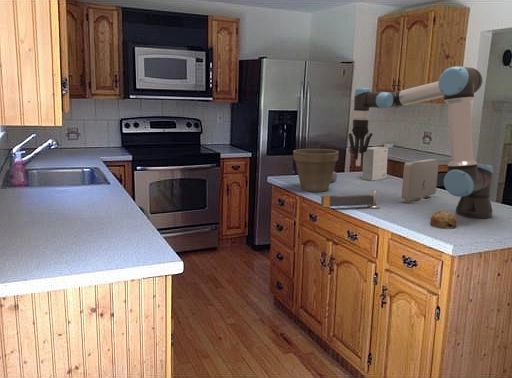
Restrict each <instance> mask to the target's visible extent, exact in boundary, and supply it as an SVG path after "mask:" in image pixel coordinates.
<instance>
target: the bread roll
mask: <svg viewBox="0 0 512 378" xmlns="http://www.w3.org/2000/svg"><path fill="white" fill-rule="evenodd" d="M429 220H430V224H432V225H431V226H432V227H436V228H438V229H447V230H448V229H453V228H456V227H457V224H458V222H457V219H456V216H455V215H454V214H453V213H452V212H449V211H446V210H439V211H436V212H435V213H433V214H432V216H430V217H429Z"/></svg>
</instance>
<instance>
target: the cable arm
mask: <svg viewBox="0 0 512 378" xmlns="http://www.w3.org/2000/svg"><path fill="white" fill-rule="evenodd" d="M320 199H321V200H320V205H321V207H323V208H326V207H327V208H329V207H331V208H333V207H350V206H367V205H371V203H372V194H360V195H359V194H346V195H344V194H343V195H341V194H340V195H321V198H320Z"/></svg>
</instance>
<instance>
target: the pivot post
mask: <svg viewBox="0 0 512 378" xmlns="http://www.w3.org/2000/svg"><path fill="white" fill-rule="evenodd" d="M371 195H372V203H371V205H366V206H367V208H368V209H372V210H374V209H375V210H376V209H377V210H378V209H381V205H379V204H378V202H377V200H378V190H375V189H372V190H371Z"/></svg>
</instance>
